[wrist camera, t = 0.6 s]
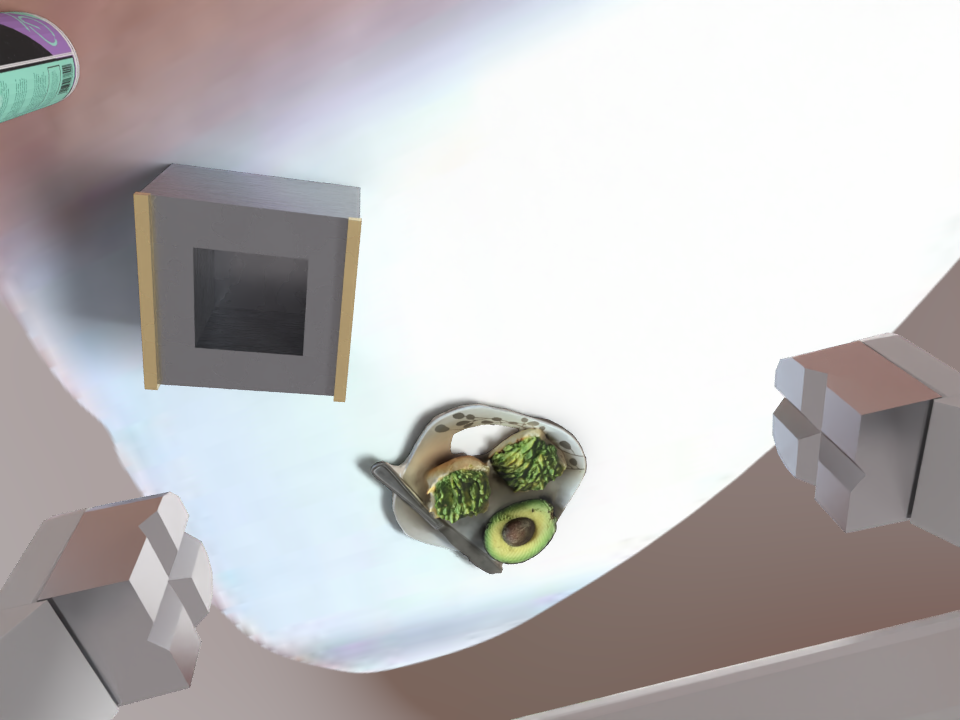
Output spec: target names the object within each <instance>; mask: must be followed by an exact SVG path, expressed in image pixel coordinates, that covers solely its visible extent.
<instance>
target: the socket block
mask: <svg viewBox="0 0 960 720" xmlns="http://www.w3.org/2000/svg"><path fill="white" fill-rule="evenodd" d="M133 196H134V213H135V231H136V248H137V265H138V282H139V299H140V317H141V334H142V351H143V368H144V385H145V389H150V390H158V388H159V386H160V384H163V385H178V386H193V387H209V388H224V389H239V390H254V391H269V392H284V393H299V394H314V395H329V396H334V401H336V402H345V397H346V386H347V375H348V364H349V354H350V343H351V332H352V321H353V310H354V299H355V288H356V277H357V266H358V255H359V244H360V233H361V222H362V219H361V218H360V188H359V187H352V186H344V185H336V184H328V183H321V182H313V181H305V180H297V179H290V178H282V177H274V176H266V175H259V174H251V173H243V172H235V171H227V170H220V169H212V168H204V167H196V166H189V165H181V164H173V163H172V164H171V165H170V166H169V167H168V168H167V169H165V170H164V171H163V172H162V173H161V174H160V175H159V176H157V177H156V178H155V179H154V180H153V181H152V182H151V183H150V184H148V185H147V186H146V187H145V188H144V189H143V190H142V191H140V192H135V193H134V194H133Z"/></svg>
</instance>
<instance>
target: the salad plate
mask: <svg viewBox="0 0 960 720" xmlns="http://www.w3.org/2000/svg"><path fill="white" fill-rule="evenodd" d="M487 424H490V425H495V424H496V425H503V426H508V427H512V428H517V429H519V432H518V433H516V434H513V435H510V436H509V437H508V438H507V439H506V440H504V441H502V442H501V443H500V444H499V445H498V446H497V447H495V448H494V449H493V450H491V451H489V452H488V453H486V454H481V455H475V456H467V455H466V454H465V453H458V454H453V453H451V450H450V448H451V441H452V437H453V435H454V434H455V433H457V432H459V431H462V430H464V429H467V428H470V427H475V426H479V425H487ZM586 467H587V463H586V457H585V455H584V452H583V449H582V447H581V445H580V443H579V442H578V441H577V439H576V438H575V437H574V435H573V434H571V433H570V432H569V431H568V430H566V429H565V428H563V427H562V426H560V425H558V424H556V423H554V422H552V421H550V420H548V419H543V418H533V417H530V416H527V415H523V414H521V413H518V412H515V411H512V410H508V409H503V408H496V407H490V406H487V405H483V404H471V405H463V406H458V407H455V408H453V409H450V410H448V411H446V412H443V413H441V414H439V415H436V416H435V417H433V418H432V420H431V421H430V422H429V423H428V424H427V425H426V427H425V429H424V430H423V432H422V433H421V435H420V436H419V438H418V439H417V441H416V443H415V444H414V446H413V449H412V451H411V453H410V454H409V456H408V457H407V458H406V460H405V461H404V462H403V463H402V464H401V465H399V466H395V465H391V464H389V463H388V462H384V461H381V462H378V463H376V464H374V465H373V466H372V467H371V472H372V474H373V475H374V476H375V477H376V478H377V479H378V480H379V481H380V482H381V483H382V484H384V485H385V486H386V487H388V488H389V489H390V490H391V491H392V497H393V499H392V506H393V507H392V509H393V512H394V515H395V517H396V520H397V522H398V524H399V525H400V527H401V529H402V530H403V532H404V533H405V534H406V535H407V536H409V537H410V538H412V539H415V540H418V541H420V542H423V543H426V544H430V545H434V546H438V547H442V548H446V549H450V550H455V551H460V552H462V553H463V554H464V555H466V556H467V557H468V558H469V561H471V562H472V563H473V564H474V565H475V566H477V567H478V568H480V569H482V570H483V571H485V572H487V573H489V574H495V573H501V572H502V570H503V569H502V564H503V563H505V564H518V563H522V562H525V561H527V560H529V559H531V558H533V557H534V556H536V555H537V554H539V553H540V552H541V551H542V550H543V549H544V548H545V547H546V546H547V545H548V544H549V542H550V541H551V539H552V538H553V536H554V534H555V532H556V529H557V526H556V522H557V521H558V519H559V517H560V516H561V514H562V512H563V511H564V509H565V507H566V505H567V504H568V503H569V502H570V500H571V498H572V496H573V495H574V493H575V492H576V490H577V488H578V487H579V485H580V483H581V481H582V479H583V477H584V475H585V473H586Z"/></svg>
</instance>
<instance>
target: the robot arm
mask: <svg viewBox="0 0 960 720" xmlns="http://www.w3.org/2000/svg"><path fill="white" fill-rule="evenodd" d="M775 387H776V389H777V390H778V391H779V392H780V393H781V394H782V395H783V396H784V399H783V400H782V402H781V403H780V405H779V406H778V407H777V409H776V410H775V412H774V413H773V437H774V441H775V445H776V448H777V452H778V454H779V456H780V458H781V460H782V461H783V463H784V465H785V467H786V468H787V469H788V470H789V471H790V472H791V474H792V475H793V476H794V477H795V478H796V479H799V480H801V481H804V482H806V483H809V484H811V485H814V486H816V491H815V500H816V501H817V503H818V504H819V505H820V506H821V507H822V508H823V509H824V510H825V511H826V512H827V513H828V515H829V516H830V517H831V518H832V519H833V520H834V521H835V522H836V523H837V524H838V526H839V527H840V528H841V529H842V530H843V531H844V532H845V533H849V532H854V531H859V530H864V529H868V528H874V527H878V526H883V525H888V524H893V523H898V522H903V521H907V520H910V523H911V524H913V525H915V526H917V527H919V528H921V529H923V530H925V531H927V532H929V533H931V534H933V535H935V536H937V537H939V538H941V539H944V540H946V541H948V542H950V543H952V544H954V545H956V546H958V547H960V372H959V371H957V370H955V369H954V368H952V367H951V366H949V365H947V364H946V363H944V362H942V361H941V360H939V359H937V358H936V357H934V356H933V355H931V354H929V353H928V352H926V351H925V350H923V349H921V348H920V347H918V346H917V345H915V344H913V343H912V342H910V341H908V340H907V339H905V338H904V337H902V336H900V335H898V334H892V333H884V334H880V335H876V336H872V337H868V338H864V339H861V340H857V341H853V342H851V343H847V344H843V345H839V346H834V347H830V348H826V349H822V350H818V351H813V352H809V353H805V354H801V355H797V356H792V357H788V358H784V359H780V362H779V364H778V366H777V369H776V375H775ZM188 518H189V514H188V512H187V510H186V508H185V507H184V505H183V503H182V501H181V499H180V497H179V496H177V495H176V494H174V493H172V492H166V493H161V494H156V495H151V496H146V497H141V498H136V499H131V500H126V501H120V502H115V503H111V504H105V505H101V506H95V507H93V508H85V509H80V510H76V511H71V512H67V513H63V514H58V515H54V516H52V517H50V518H48V519H46V520H44V521H43V522H42V524H41V526H40V528H39V529H38V531H37V532H36V534H35V536H34V537H33V539H32V540H31V542H30V544H29V545H28V547H27V548H26V550H25V552H24V553H23V555H22V557H21V558H20V560H19V561H18V563H17V565H16V566H15V568H14V569H13V571H12V573H11V574H10V576H9V578H8V579H7V581H6V583H5V584H4V586H3V587H2V589H1V590H0V720H112V719H113V718H114V716H115V715H116V714H117V713H118V711H119V709H118V707H119V706H123V705H126V704H130V703H134V702H138V701H141V700H145V699H149V698H153V697H156V696H160V695H164V694H168V693H171V692H176V691H179V690H183V689H187V688H190V686H191V682H192V678H193V674H194V670H195V666H196V662H197V658H198V654H199V650H200V646H201V642H202V641H201V639H200V637H199V635H198V633H197V632H196V630H195V627H196V626H197V625H198V624H199V623H200V622H201V621H202V620H203V619H204V618H205V617H206V616H207V614H208V613H209V610H210V606H211V601H212V597H213V577H212V569H211V565H210V561H209V557H208V554H207V552H206V550H205V548H204V546H203V544H202V541H200V540H198V539H196V538H195V537H193V536H191V535H189V534H188V533H186V532H184V531H185V528H186V525H187V522H188ZM512 720H960V610H958V611H954V612H950V613H946V614H942V615H937V616H933V617H929V618H925V619H921V620H917V621H913V622H909V623H905V624H901V625H896V626H892V627H889V628H884V629H880V630H876V631H872V632H868V633H864V634H859V635H855V636H851V637H847V638H843V639H839V640H835V641H831V642H827V643H823V644H819V645H814V646H810V647H806V648H802V649H798V650H794V651H790V652H786V653H782V654H777V655H773V656H770V657H765V658H761V659H757V660H753V661H749V662H745V663H740V664H736V665H732V666H728V667H724V668H720V669H716V670H712V671H708V672H704V673H700V674H696V675H692V676H688V677H683V678H679V679H675V680H671V681H667V682H663V683H659V684H655V685H651V686H647V687H642V688H638V689H635V690H630V691H626V692H622V693H618V694H614V695H610V696H606V697H602V698H598V699H594V700H590V701H586V702H581V703H577V704H573V705H569V706H565V707H561V708H557V709H553V710H549V711H545V712H541V713H537V714H532V715H528V716H524V717H521V718H516V719H512Z"/></svg>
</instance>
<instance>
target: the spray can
mask: <svg viewBox="0 0 960 720" xmlns="http://www.w3.org/2000/svg"><path fill="white" fill-rule="evenodd" d="M78 79H79V61H78V57H77V54H76V51H75V49H74V47H73V45H72V44H71V42H70V40H69V39H68V38H67V36H66V35H65V34H64V33H63V32H62V31H61V30H60V29H59V28H58V27H57V26H56V25H54V24H53V23H51V22H50V21H48V20H47V19H45V18H43V17H40V16H38V15H35V14H31V13H26V12H0V123H1V122H4V121H7V120H10V119H13V118H15V117H18V116H21V115H24V114H27V113H30V112H33V111H35V110H38V109H41V108H44V107H47V106H50V105H52V104H55V103H58V102H60V101H62V100H64V99H65V98H66V97H68V96H69V95H70V94H71V93H72V92H73V91H74V89H75V87H76V85H77V83H78Z"/></svg>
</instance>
